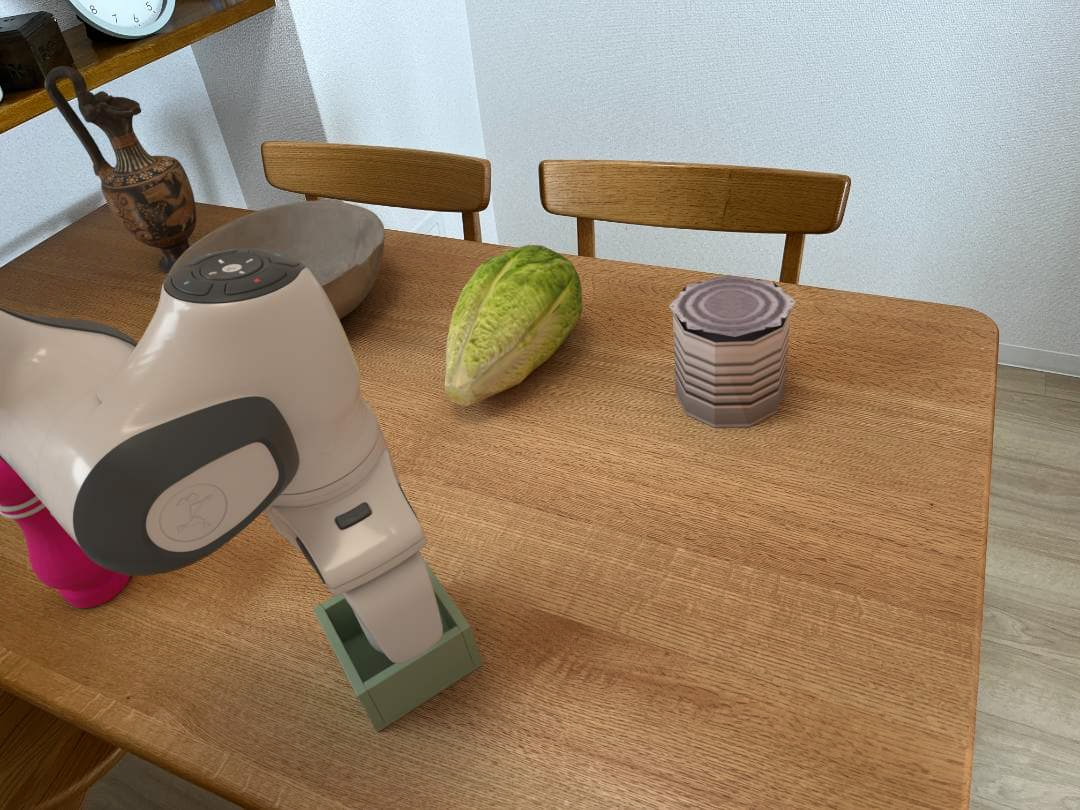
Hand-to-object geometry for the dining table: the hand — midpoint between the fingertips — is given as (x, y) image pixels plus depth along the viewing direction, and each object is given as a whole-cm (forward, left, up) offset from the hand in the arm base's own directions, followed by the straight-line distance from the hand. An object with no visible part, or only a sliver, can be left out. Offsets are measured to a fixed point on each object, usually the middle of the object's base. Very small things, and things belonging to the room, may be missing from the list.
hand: (381, 598), depth 62 cm
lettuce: (+27, +27, -8) cm, 39 cm away
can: (+42, +7, -8) cm, 43 cm away
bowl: (+11, +58, -8) cm, 60 cm away
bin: (0, 0, -8) cm, 8 cm away
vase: (+1, +86, -8) cm, 86 cm away
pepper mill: (-21, +26, -8) cm, 35 cm away
